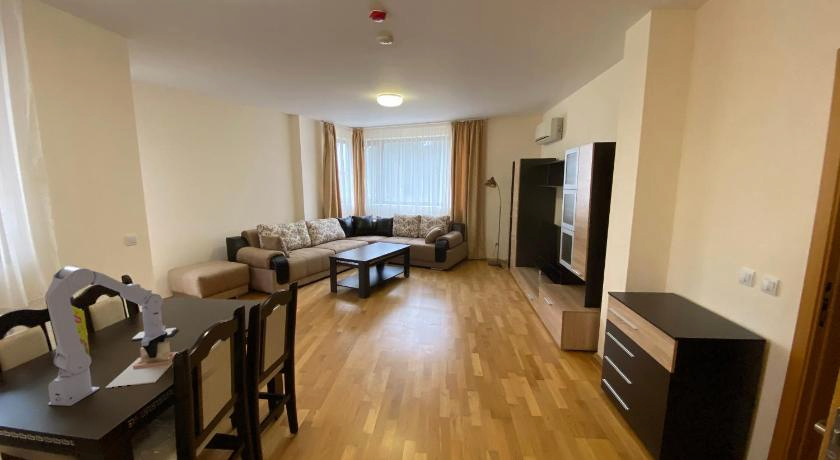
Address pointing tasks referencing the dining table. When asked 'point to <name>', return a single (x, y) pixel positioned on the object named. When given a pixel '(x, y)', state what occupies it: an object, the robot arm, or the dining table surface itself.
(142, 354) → the block
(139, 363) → the frame
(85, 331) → the food package
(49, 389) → the robot arm
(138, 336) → the phone case
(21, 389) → the dining table surface
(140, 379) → the mat
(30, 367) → the dining table surface
